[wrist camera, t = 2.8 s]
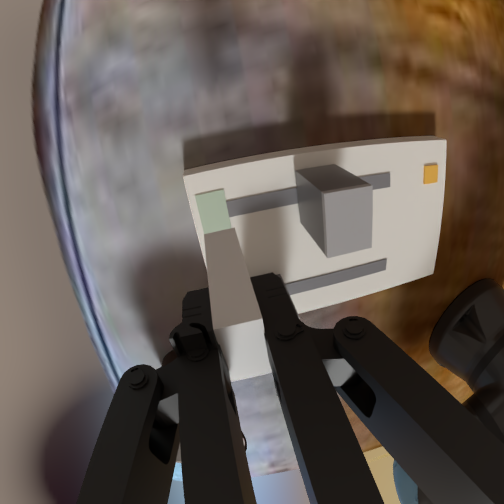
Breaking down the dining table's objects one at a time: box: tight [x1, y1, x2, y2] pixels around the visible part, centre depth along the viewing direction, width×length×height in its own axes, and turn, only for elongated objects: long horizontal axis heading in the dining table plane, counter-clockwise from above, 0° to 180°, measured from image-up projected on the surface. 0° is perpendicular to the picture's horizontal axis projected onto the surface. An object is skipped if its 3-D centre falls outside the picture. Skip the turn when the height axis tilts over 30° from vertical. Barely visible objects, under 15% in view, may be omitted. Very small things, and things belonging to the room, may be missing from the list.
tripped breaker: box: [295, 164, 373, 258], centre depth 19 cm, size 3×4×5 cm
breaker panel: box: [183, 136, 446, 314], centre depth 25 cm, size 22×14×2 cm, turn 99°
